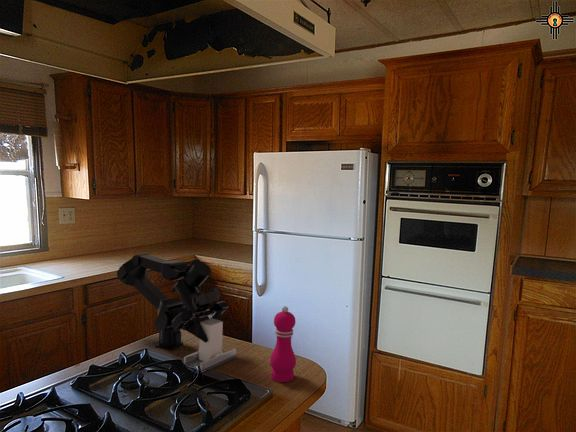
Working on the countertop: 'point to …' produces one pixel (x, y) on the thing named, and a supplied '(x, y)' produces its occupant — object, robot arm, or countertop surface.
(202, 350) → the block
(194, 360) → the rail plate
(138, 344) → the countertop surface
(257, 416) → the countertop surface
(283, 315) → the pepper mill
